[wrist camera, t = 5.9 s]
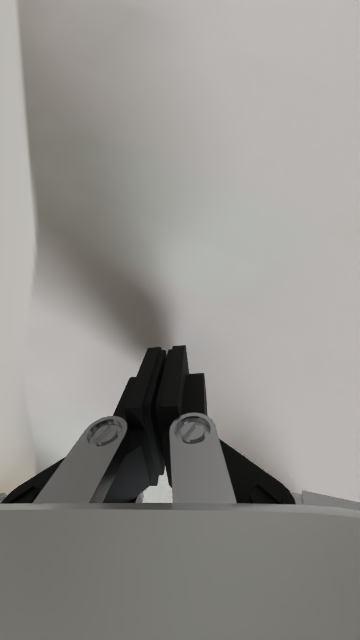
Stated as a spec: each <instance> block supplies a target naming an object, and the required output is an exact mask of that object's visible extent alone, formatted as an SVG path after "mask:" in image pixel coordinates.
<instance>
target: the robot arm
mask: <svg viewBox="0 0 360 640" xmlns="http://www.w3.org/2000/svg"><path fill="white" fill-rule="evenodd" d="M165 466H166V471H167V476H168V482H169V485H170V486H171V488H172V495H173V503H142V502H143V497H144V495H143V491H144V490H145V489H146V488H148V487H149V486H157V484H158V477H159V475H163V474H164V470H165ZM0 640H360V503H359V502H355V501H350V500H345V499H340V498H336V497H331V496H326V495H321V494H317V493H312V492H307V491H302V495H300V494H296V493H291V492H290V491H289V490H288V489H287V488H286V487H285V486H284V485H283V484H281V483H280V482H279V481H277V480H276V479H275V478H273V477H272V476H270V475H269V474H268V473H266V472H265V471H263V470H262V469H261V468H259V467H258V466H256V465H255V464H254V463H252V462H251V461H250V460H248V459H247V458H245V457H244V456H243V455H241V454H240V453H238V452H237V451H236V450H234V449H233V448H231V447H230V446H229V445H227V444H226V443H224V442H223V441H222V440H220V439H219V437H218V434H217V430H216V427H215V424H214V422H213V420H212V419H210V418H209V417H208V416H207V401H206V388H205V378H204V373H197V374H189V369H188V361H187V352H186V346H185V345H183V346H173V348H172V349H171V350H168V354H167V355H166V350H162V349H161V347H155V348H148V349H147V352H146V354H145V357H144V359H143V362H142V364H141V367H140V369H139V372H138V374H137V377H131V378H130V379H129V381H128V383H127V385H126V387H125V390H124V392H123V394H122V396H121V399H120V401H119V403H118V405H117V408H116V410H115V412H114V414H113V416H108V417H104V418H101V419H99V420H97V421H95V422H94V423H92V424H91V425H90V426H89V427H88V428H87V429H86V430H85V431H84V433H83V434H82V435H81V437H80V438H79V440H78V441H77V442H76V444H75V445H74V446H73V448H72V449H71V451H70V452H69V453H68V455H67V456H66V457H65V458H63V459H62V460H60V461H58V462H57V463H55V464H54V465H52V466H50V467H49V468H47V469H46V470H44V471H42V472H41V473H39V474H37V475H36V476H34V477H33V478H31V479H30V480H28V481H26V482H25V483H23V484H21V485H20V486H18V487H17V488H16V489H14V490H13V491H12V492H11V493H10V494H9V495H8V496H7V495H6V493H1V494H0Z"/></svg>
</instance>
